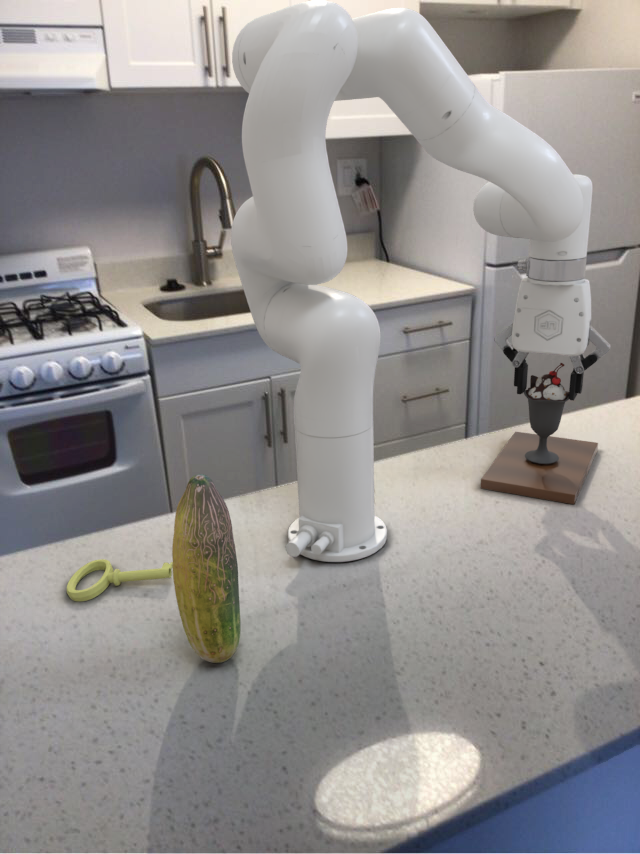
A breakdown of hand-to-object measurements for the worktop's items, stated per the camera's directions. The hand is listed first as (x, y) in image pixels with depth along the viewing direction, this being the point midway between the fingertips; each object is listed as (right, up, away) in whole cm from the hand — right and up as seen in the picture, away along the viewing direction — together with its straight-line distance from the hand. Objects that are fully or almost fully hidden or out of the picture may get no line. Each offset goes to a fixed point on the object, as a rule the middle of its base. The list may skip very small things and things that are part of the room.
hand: (547, 393), depth 109 cm
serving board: (+1, -11, +4) cm, 12 cm away
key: (-56, -23, -21) cm, 65 cm away
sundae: (0, -10, +4) cm, 10 cm away
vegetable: (-43, -28, -34) cm, 62 cm away
